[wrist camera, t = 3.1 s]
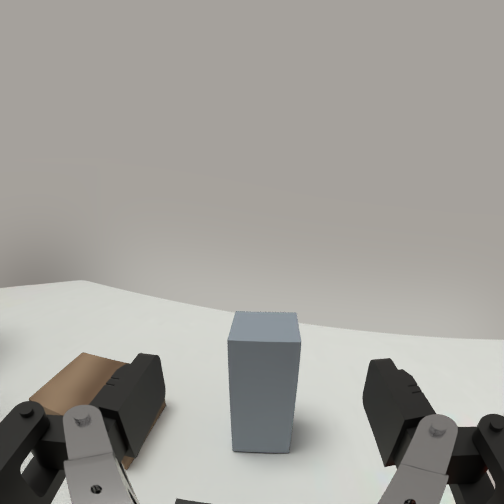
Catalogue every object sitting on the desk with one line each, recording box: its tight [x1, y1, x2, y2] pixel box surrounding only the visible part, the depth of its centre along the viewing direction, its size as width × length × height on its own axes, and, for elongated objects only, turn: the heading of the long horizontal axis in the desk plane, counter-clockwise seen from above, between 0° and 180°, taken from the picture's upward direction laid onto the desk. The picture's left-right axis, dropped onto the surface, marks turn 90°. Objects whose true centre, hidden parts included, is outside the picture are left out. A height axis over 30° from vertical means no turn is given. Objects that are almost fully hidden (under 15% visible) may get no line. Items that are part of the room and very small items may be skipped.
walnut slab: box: [29, 353, 166, 470], centre depth 24 cm, size 10×10×5 cm
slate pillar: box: [227, 311, 301, 453], centre depth 24 cm, size 5×5×12 cm
